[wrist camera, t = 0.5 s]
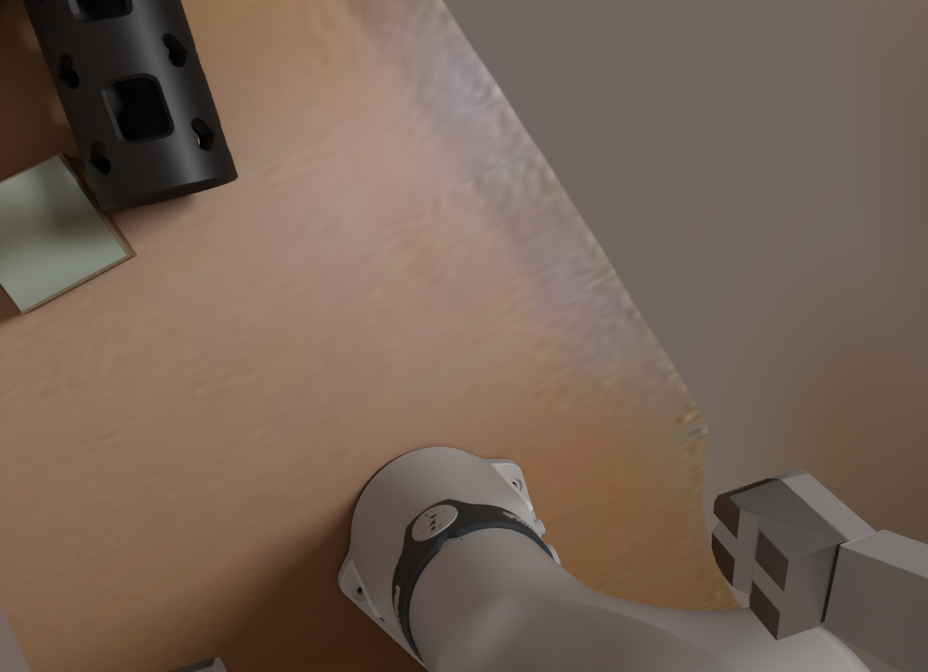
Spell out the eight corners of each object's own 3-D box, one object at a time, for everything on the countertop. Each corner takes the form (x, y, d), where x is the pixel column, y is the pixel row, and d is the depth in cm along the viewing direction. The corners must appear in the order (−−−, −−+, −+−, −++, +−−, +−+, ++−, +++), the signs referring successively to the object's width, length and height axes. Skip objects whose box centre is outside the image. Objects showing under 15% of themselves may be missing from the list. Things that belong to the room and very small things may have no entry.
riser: (137, 255, 52) (130, 256, 48) (34, 310, 50) (20, 315, 47) (70, 156, 49) (59, 151, 46) (-40, 210, 48) (-60, 209, 45)
